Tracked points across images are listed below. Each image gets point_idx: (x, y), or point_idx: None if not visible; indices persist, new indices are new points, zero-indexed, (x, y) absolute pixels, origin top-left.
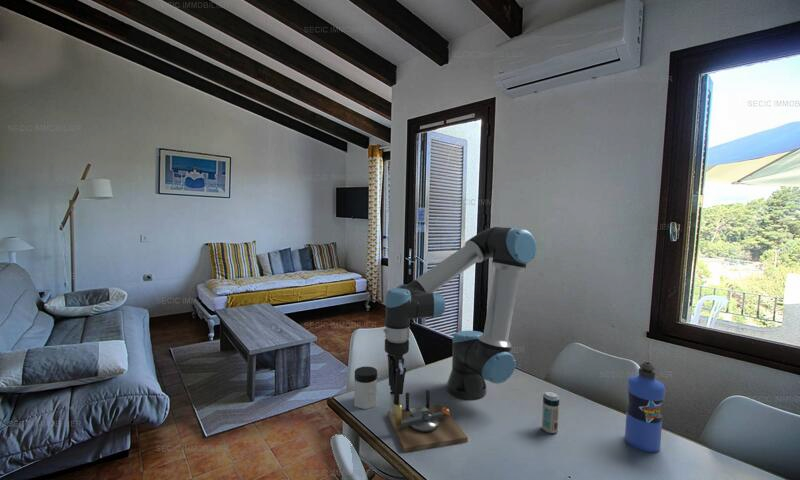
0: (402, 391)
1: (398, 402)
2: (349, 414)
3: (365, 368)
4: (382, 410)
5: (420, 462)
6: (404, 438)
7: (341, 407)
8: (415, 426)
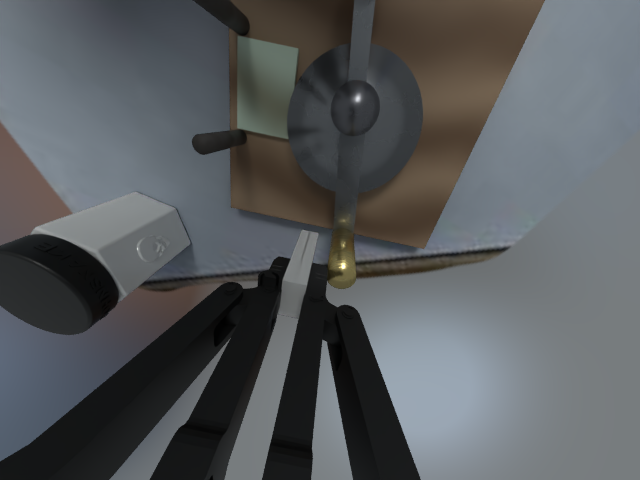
0: (362, 327)
1: (327, 274)
2: (207, 281)
3: (3, 289)
4: (203, 201)
5: (481, 225)
6: (387, 229)
7: (171, 284)
8: (377, 185)
